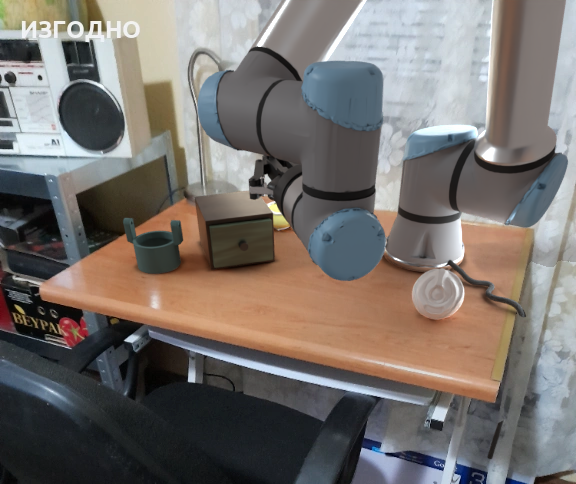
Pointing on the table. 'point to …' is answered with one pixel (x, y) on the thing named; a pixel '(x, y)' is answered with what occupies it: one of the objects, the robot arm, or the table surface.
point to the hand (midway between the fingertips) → (269, 153)
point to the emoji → (278, 217)
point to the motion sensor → (438, 294)
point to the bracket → (156, 247)
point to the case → (228, 216)
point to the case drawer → (241, 242)
